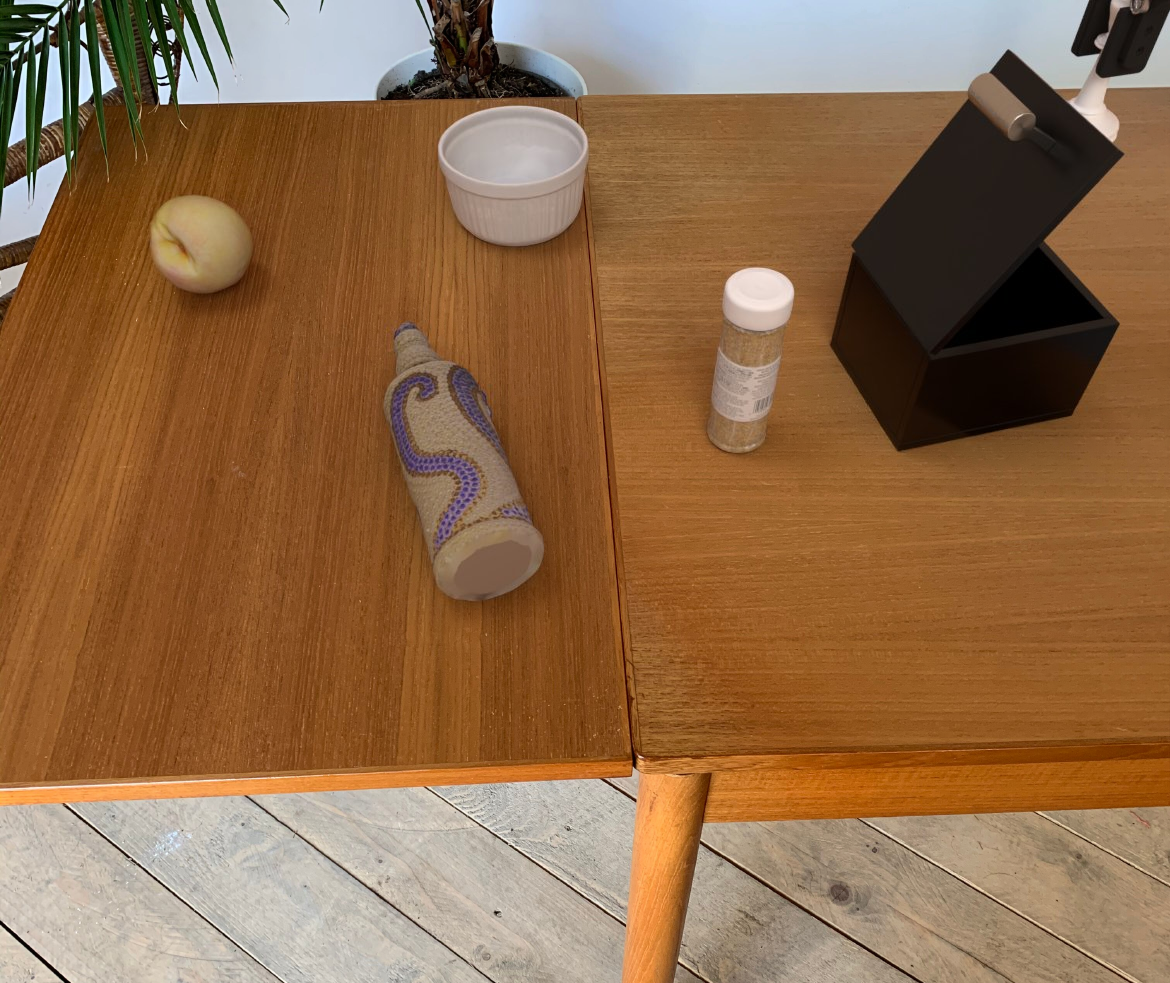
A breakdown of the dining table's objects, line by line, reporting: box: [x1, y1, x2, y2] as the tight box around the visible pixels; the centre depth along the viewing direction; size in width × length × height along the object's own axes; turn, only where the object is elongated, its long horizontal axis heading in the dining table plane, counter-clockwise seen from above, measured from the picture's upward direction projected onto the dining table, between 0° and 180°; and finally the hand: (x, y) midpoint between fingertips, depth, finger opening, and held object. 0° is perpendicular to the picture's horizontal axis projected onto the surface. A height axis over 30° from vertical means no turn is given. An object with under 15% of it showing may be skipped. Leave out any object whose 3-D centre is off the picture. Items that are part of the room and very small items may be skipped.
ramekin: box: [437, 105, 590, 247], centre depth 91 cm, size 13×13×7 cm
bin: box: [829, 240, 1121, 452], centre depth 76 cm, size 15×13×9 cm
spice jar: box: [706, 266, 795, 454], centre depth 71 cm, size 5×5×13 cm
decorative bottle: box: [382, 321, 545, 602], centre depth 72 cm, size 26×8×7 cm, turn 18°
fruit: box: [149, 194, 254, 294], centre depth 84 cm, size 8×8×8 cm
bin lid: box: [850, 48, 1125, 356], centre depth 66 cm, size 16×13×5 cm
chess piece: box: [1067, 0, 1130, 143], centre depth 64 cm, size 5×5×10 cm
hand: (1106, 60), depth 64 cm, fingers closed on chess piece
